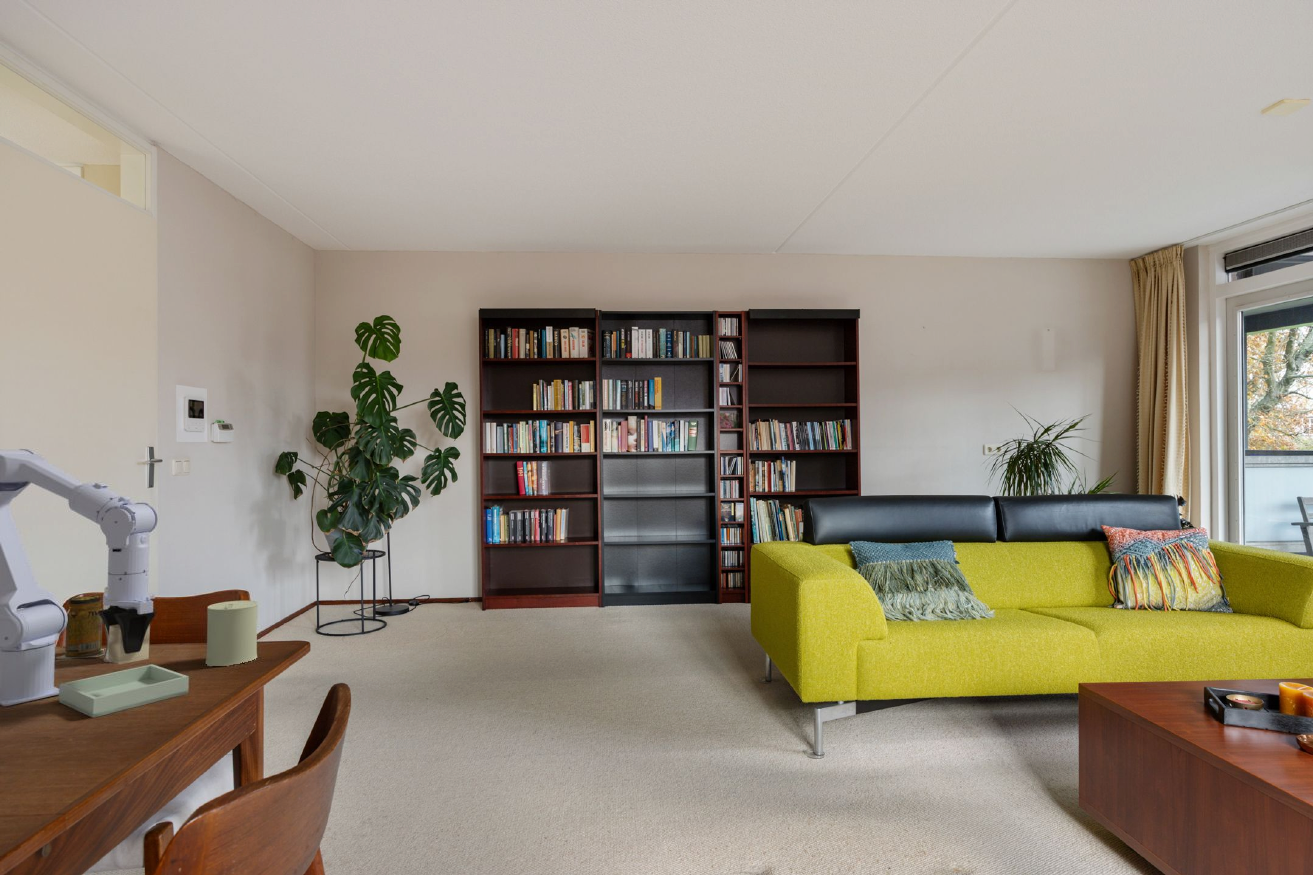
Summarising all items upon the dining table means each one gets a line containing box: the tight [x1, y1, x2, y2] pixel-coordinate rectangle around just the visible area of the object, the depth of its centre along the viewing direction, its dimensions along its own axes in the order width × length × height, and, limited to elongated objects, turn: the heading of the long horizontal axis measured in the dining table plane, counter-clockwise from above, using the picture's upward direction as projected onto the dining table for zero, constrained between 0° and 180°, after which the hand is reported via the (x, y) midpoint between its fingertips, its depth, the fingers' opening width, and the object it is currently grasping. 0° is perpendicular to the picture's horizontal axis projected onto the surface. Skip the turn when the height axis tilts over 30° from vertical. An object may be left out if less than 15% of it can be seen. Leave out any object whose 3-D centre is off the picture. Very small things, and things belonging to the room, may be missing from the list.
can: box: [205, 600, 259, 667], centre depth 146 cm, size 9×9×12 cm
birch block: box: [108, 624, 151, 665], centre depth 123 cm, size 4×4×6 cm
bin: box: [58, 664, 190, 718], centre depth 123 cm, size 14×14×3 cm
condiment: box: [55, 595, 106, 660], centre depth 150 cm, size 7×8×12 cm
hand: (126, 650), depth 123 cm, fingers closed on birch block, 4 cm apart
